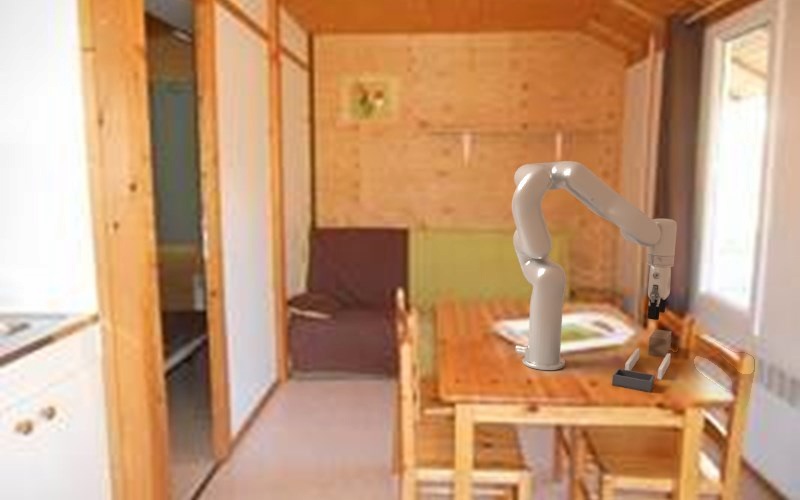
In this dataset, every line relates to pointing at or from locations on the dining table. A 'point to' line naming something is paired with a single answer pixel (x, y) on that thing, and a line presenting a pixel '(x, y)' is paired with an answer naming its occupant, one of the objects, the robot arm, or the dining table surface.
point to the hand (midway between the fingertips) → (656, 315)
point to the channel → (635, 357)
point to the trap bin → (633, 380)
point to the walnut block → (659, 343)
